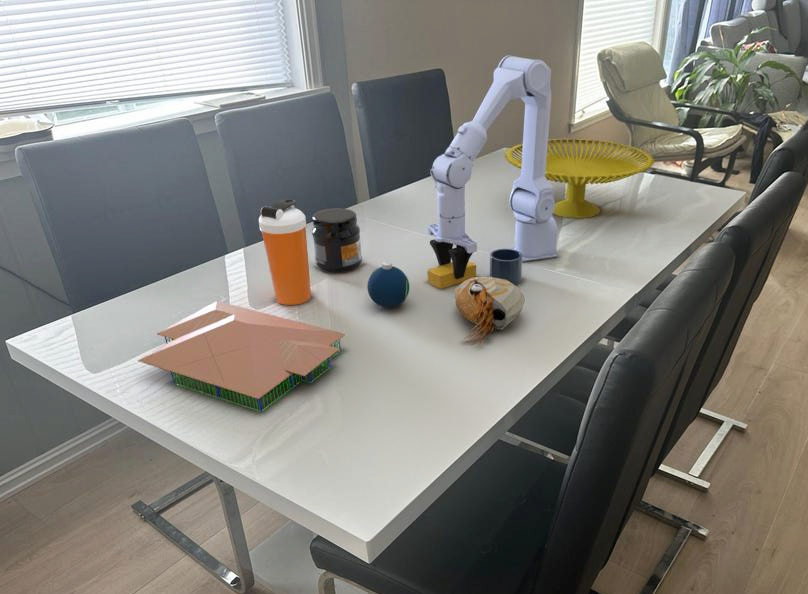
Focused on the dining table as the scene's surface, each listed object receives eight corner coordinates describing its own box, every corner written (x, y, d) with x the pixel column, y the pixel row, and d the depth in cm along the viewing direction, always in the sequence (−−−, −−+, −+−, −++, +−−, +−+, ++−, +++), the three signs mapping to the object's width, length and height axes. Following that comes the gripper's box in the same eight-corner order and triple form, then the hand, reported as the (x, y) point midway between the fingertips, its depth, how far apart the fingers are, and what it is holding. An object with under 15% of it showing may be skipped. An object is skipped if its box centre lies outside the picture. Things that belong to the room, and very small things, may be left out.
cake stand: (668, 203, 199) (676, 150, 191) (613, 247, 169) (619, 186, 162) (544, 180, 217) (547, 131, 209) (475, 216, 188) (475, 161, 180)
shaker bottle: (323, 292, 146) (312, 200, 136) (300, 310, 139) (287, 214, 128) (287, 286, 148) (273, 195, 138) (262, 303, 141) (246, 208, 131)
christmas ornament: (399, 317, 136) (396, 271, 131) (361, 311, 139) (357, 264, 133) (417, 300, 143) (415, 255, 138) (380, 294, 145) (377, 249, 140)
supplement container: (372, 265, 159) (368, 214, 152) (334, 278, 152) (329, 226, 146) (343, 252, 165) (339, 204, 158) (306, 265, 158) (300, 215, 152)
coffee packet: (463, 270, 156) (463, 258, 155) (476, 277, 153) (476, 264, 152) (427, 282, 151) (427, 269, 149) (440, 289, 148) (440, 276, 146)
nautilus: (501, 360, 123) (425, 348, 128) (536, 304, 140) (468, 295, 145) (499, 322, 119) (420, 311, 124) (536, 268, 135) (465, 261, 140)
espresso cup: (514, 272, 156) (514, 247, 153) (526, 284, 150) (527, 258, 147) (484, 276, 154) (485, 250, 151) (496, 288, 148) (496, 262, 145)
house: (275, 420, 106) (267, 375, 102) (123, 370, 118) (110, 329, 114) (360, 353, 124) (356, 312, 120) (220, 315, 136) (212, 278, 132)
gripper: (415, 209, 147) (417, 268, 154) (457, 227, 137) (458, 289, 144) (441, 202, 151) (443, 260, 158) (484, 220, 141) (484, 280, 148)
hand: (452, 273), depth 151 cm, fingers closed on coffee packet, 4 cm apart
